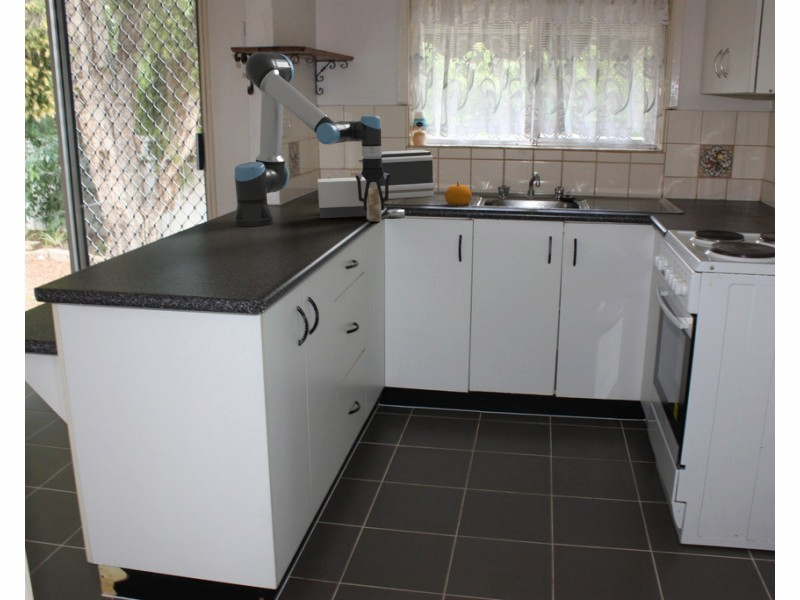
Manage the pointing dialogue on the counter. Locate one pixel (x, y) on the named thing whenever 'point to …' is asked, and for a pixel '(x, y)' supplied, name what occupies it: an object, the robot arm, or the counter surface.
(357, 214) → the two-tone white block
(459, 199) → the fruit
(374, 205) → the mottled tan block
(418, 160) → the toaster
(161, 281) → the counter surface
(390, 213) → the token
